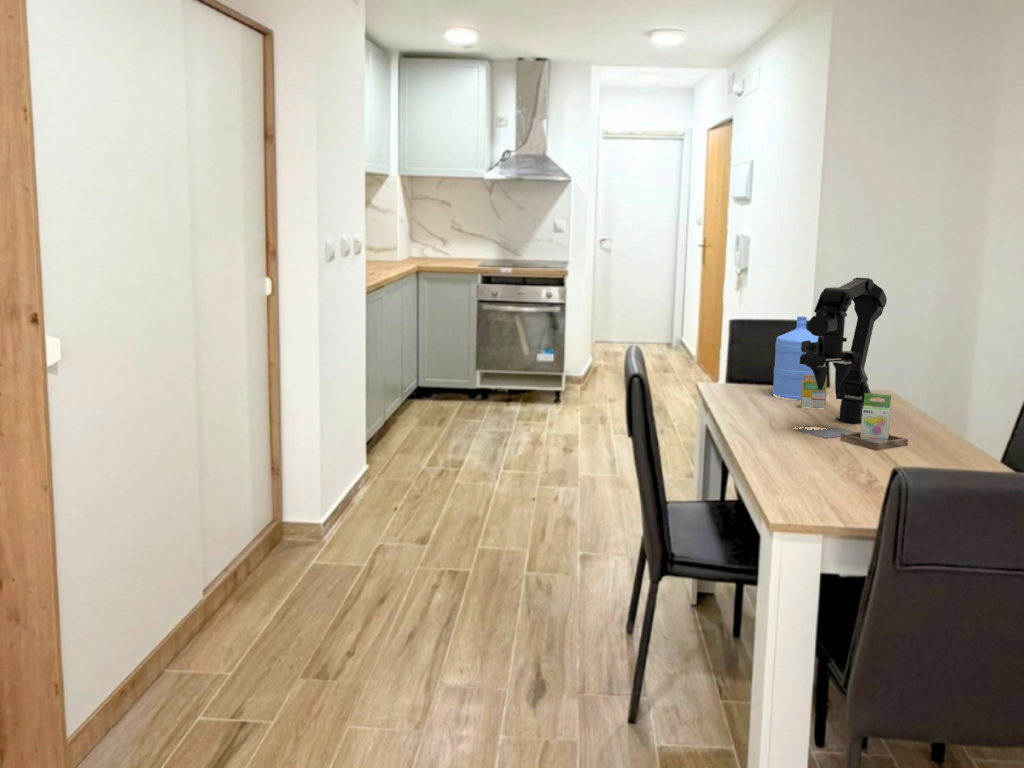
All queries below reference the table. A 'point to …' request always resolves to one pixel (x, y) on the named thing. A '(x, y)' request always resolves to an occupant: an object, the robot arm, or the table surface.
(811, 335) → the water jug
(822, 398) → the crayon box
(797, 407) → the table surface
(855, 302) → the robot arm
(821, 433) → the mat
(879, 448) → the holder
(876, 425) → the ink box
